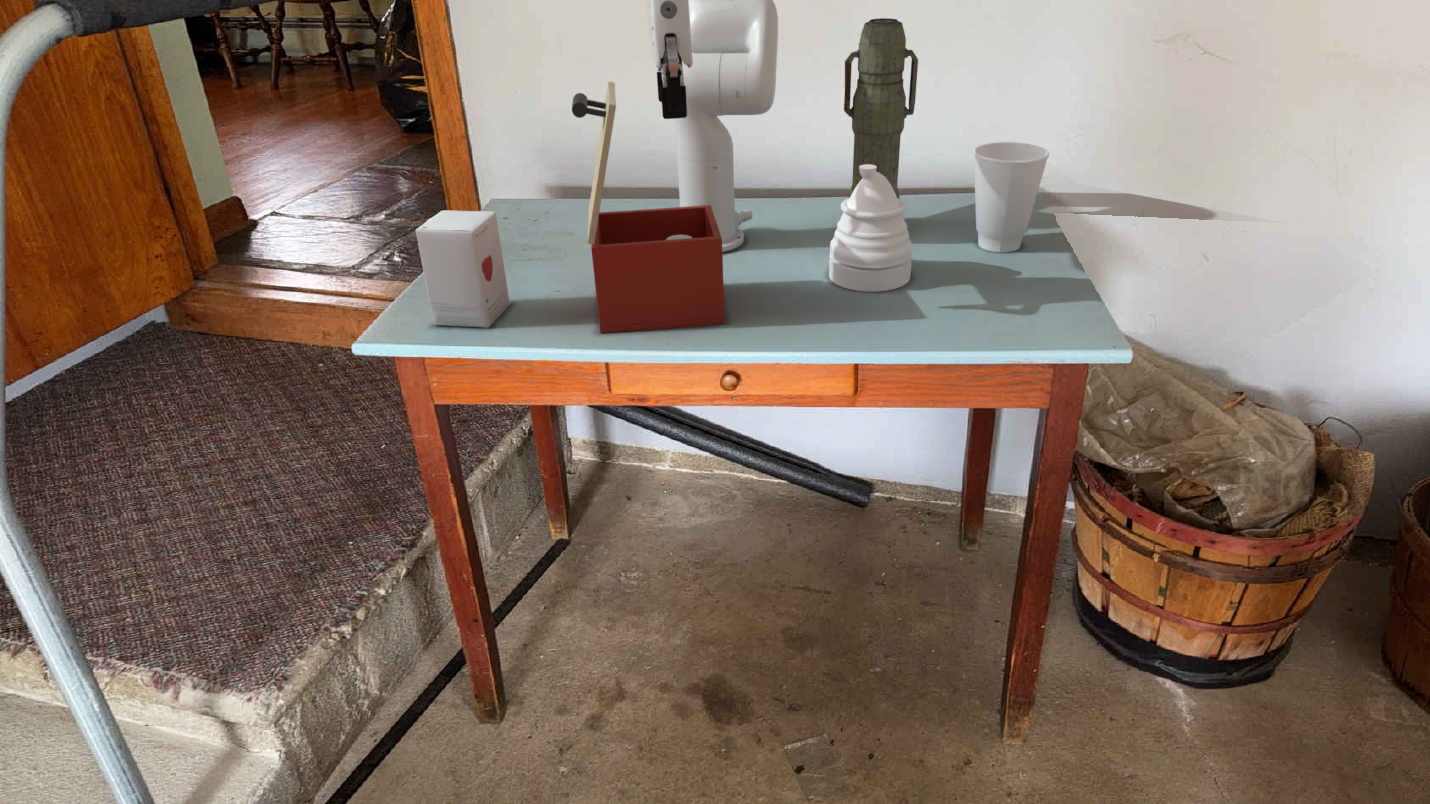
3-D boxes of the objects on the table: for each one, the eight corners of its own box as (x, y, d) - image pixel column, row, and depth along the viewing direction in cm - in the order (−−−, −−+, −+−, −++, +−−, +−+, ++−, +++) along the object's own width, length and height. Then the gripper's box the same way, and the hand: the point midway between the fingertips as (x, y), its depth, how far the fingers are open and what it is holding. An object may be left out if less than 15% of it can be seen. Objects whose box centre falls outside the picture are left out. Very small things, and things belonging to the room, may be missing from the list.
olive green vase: (835, 220, 171) (842, 18, 154) (899, 218, 171) (913, 15, 154) (843, 237, 163) (851, 25, 146) (909, 234, 164) (925, 22, 146)
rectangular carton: (489, 329, 135) (472, 231, 128) (432, 326, 137) (412, 229, 129) (512, 304, 143) (497, 210, 135) (457, 301, 144) (440, 208, 137)
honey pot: (880, 298, 140) (887, 181, 131) (812, 278, 148) (815, 166, 139) (925, 273, 148) (935, 161, 139) (859, 255, 156) (864, 148, 147)
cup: (1033, 234, 161) (1046, 142, 153) (1037, 259, 151) (1052, 162, 143) (963, 231, 164) (972, 140, 156) (963, 255, 154) (973, 160, 146)
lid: (614, 82, 130) (576, 74, 129) (616, 105, 117) (573, 97, 116) (594, 210, 139) (558, 203, 138) (594, 244, 126) (554, 238, 125)
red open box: (713, 284, 147) (710, 204, 140) (724, 323, 134) (722, 238, 128) (600, 292, 146) (592, 212, 139) (600, 333, 133) (591, 247, 126)
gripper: (700, -23, 110) (706, 123, 119) (688, -37, 125) (694, 93, 134) (637, -20, 109) (647, 126, 118) (632, -34, 124) (642, 96, 133)
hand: (672, 109), depth 126 cm, fingers open, 9 cm apart
